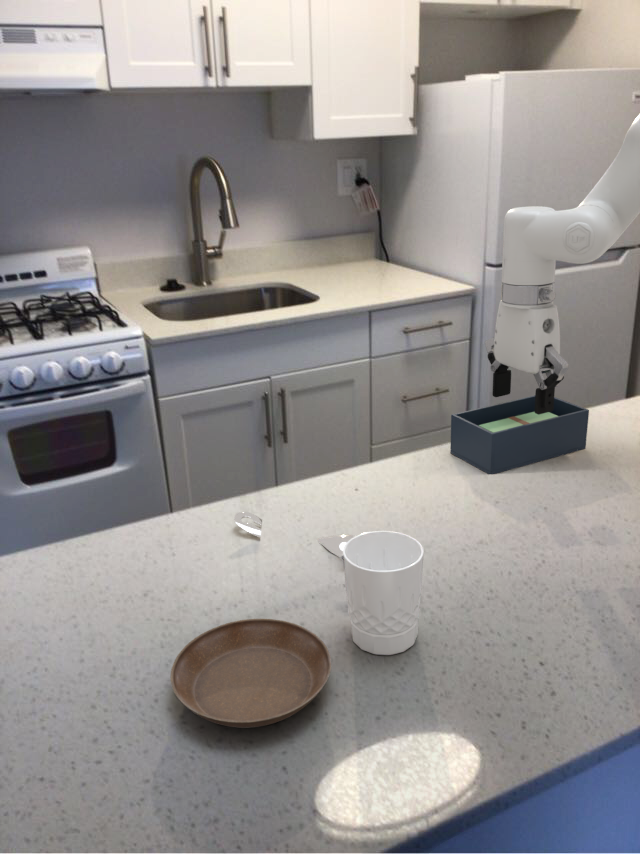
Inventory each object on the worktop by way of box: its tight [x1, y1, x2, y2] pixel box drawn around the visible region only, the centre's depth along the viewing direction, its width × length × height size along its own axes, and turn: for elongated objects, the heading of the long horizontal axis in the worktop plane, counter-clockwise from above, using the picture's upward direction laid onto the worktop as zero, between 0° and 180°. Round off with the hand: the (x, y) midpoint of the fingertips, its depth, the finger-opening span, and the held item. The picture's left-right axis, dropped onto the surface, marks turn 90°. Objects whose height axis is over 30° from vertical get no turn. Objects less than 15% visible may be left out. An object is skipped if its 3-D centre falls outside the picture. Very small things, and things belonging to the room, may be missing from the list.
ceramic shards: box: [233, 511, 356, 560], centre depth 95 cm, size 20×4×5 cm
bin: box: [449, 394, 590, 475], centre depth 119 cm, size 19×10×7 cm, turn 117°
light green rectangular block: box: [478, 412, 557, 433], centre depth 119 cm, size 4×13×5 cm, turn 117°
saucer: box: [169, 618, 332, 729], centre depth 70 cm, size 15×15×3 cm
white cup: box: [342, 530, 425, 656], centre depth 76 cm, size 8×8×10 cm
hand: (521, 403), depth 117 cm, fingers open, 9 cm apart
